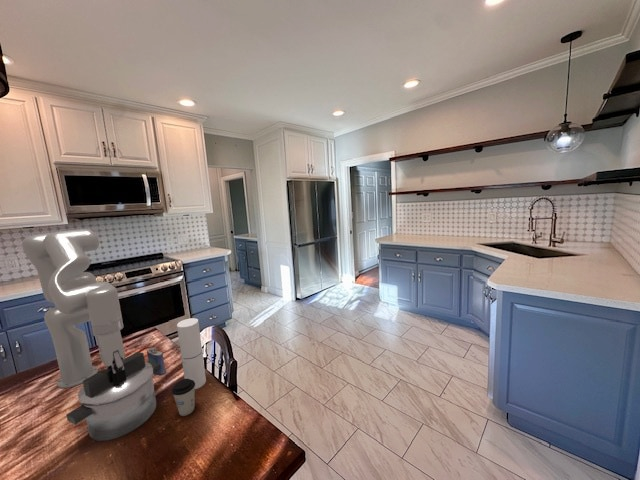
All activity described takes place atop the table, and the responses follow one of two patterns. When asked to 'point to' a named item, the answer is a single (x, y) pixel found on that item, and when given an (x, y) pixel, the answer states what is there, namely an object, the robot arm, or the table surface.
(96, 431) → the cooker pot
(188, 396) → the coffee cup
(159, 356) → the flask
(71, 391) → the table surface
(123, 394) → the lid
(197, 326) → the cylindrical container
